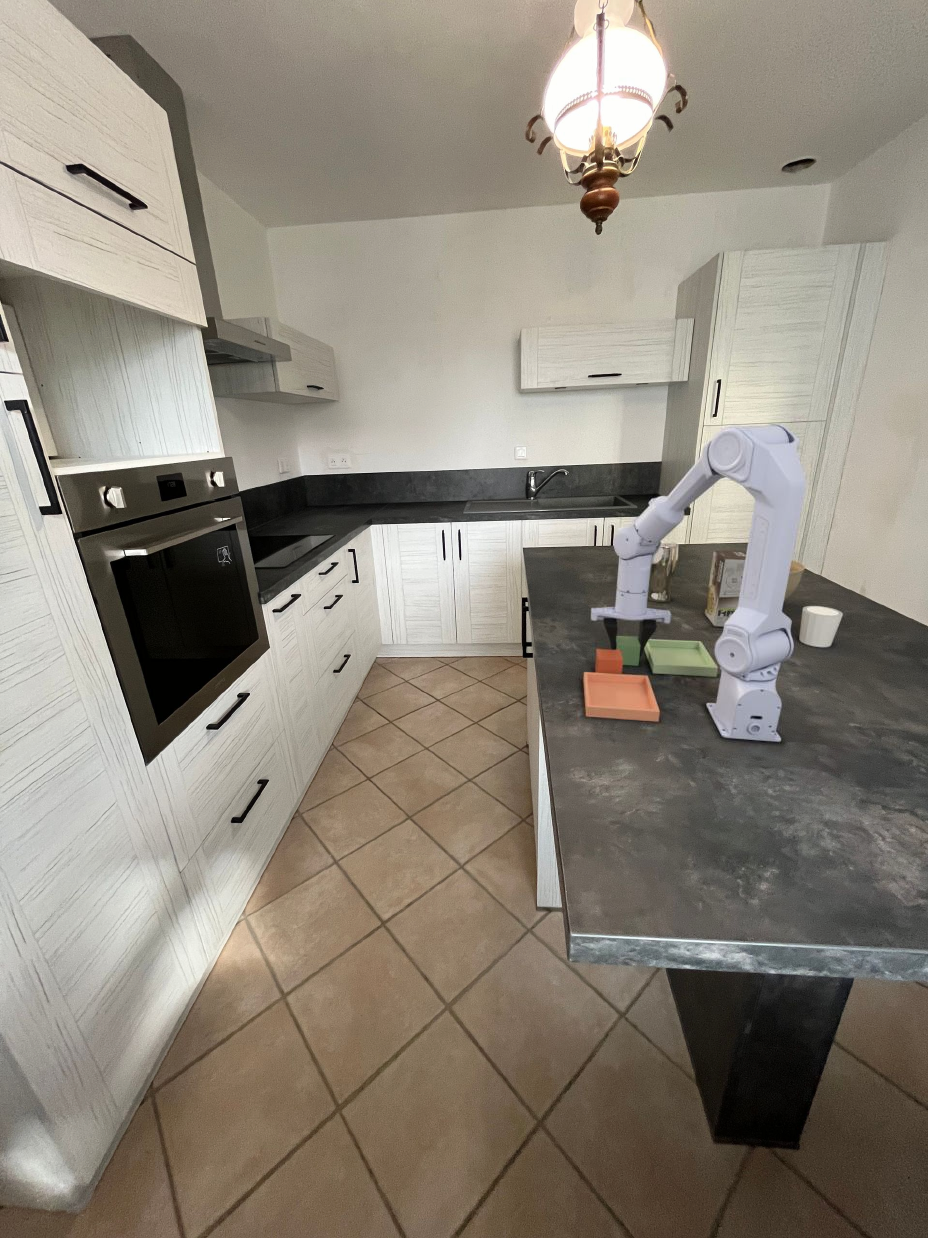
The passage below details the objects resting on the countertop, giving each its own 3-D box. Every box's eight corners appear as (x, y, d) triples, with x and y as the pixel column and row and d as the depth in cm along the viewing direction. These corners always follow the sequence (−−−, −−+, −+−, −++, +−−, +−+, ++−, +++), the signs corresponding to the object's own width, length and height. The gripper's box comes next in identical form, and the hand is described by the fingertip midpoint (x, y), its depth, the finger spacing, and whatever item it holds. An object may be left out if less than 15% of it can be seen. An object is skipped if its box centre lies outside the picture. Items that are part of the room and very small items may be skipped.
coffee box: (744, 628, 111) (756, 559, 105) (713, 626, 112) (724, 558, 107) (731, 614, 119) (743, 549, 114) (703, 613, 121) (713, 549, 115)
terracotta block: (621, 681, 90) (623, 660, 88) (596, 680, 90) (598, 658, 89) (618, 670, 94) (620, 650, 92) (595, 669, 94) (596, 648, 93)
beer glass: (639, 597, 133) (644, 543, 128) (658, 593, 136) (664, 540, 131) (658, 604, 128) (665, 548, 122) (678, 600, 130) (685, 544, 125)
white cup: (797, 645, 102) (804, 613, 99) (794, 633, 107) (801, 603, 105) (837, 650, 99) (846, 618, 96) (832, 638, 104) (840, 607, 102)
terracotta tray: (658, 721, 77) (659, 711, 76) (585, 716, 79) (586, 706, 78) (646, 684, 88) (647, 675, 87) (583, 681, 90) (583, 672, 90)
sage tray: (716, 676, 90) (718, 667, 89) (652, 673, 92) (653, 664, 92) (699, 649, 101) (701, 641, 101) (643, 647, 103) (644, 638, 103)
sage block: (638, 665, 95) (640, 645, 94) (615, 664, 96) (616, 644, 95) (635, 656, 99) (637, 636, 98) (613, 655, 100) (614, 635, 99)
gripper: (668, 583, 95) (660, 647, 99) (592, 582, 97) (588, 644, 102) (676, 595, 88) (667, 662, 93) (593, 593, 91) (589, 658, 96)
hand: (626, 654), depth 97 cm, fingers closed on sage block, 4 cm apart
